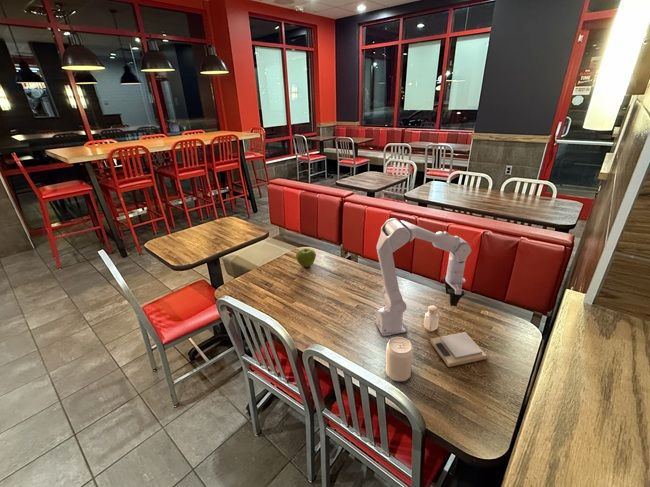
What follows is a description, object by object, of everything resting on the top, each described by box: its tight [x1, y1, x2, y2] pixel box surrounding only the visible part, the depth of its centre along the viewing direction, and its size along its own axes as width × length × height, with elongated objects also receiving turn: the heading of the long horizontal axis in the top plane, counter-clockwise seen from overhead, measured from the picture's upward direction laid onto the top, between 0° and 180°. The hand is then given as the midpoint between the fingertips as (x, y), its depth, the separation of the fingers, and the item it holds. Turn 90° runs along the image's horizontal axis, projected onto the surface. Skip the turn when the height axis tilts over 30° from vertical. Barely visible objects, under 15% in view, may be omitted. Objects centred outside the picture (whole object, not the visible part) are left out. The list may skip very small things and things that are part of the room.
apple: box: [295, 247, 317, 268], centre depth 168 cm, size 11×10×10 cm
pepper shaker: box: [423, 304, 440, 332], centre depth 118 cm, size 4×4×10 cm
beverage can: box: [385, 336, 414, 382], centre depth 99 cm, size 8×8×12 cm
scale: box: [429, 331, 488, 368], centre depth 109 cm, size 14×12×3 cm
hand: (451, 299), depth 120 cm, fingers open, 7 cm apart
